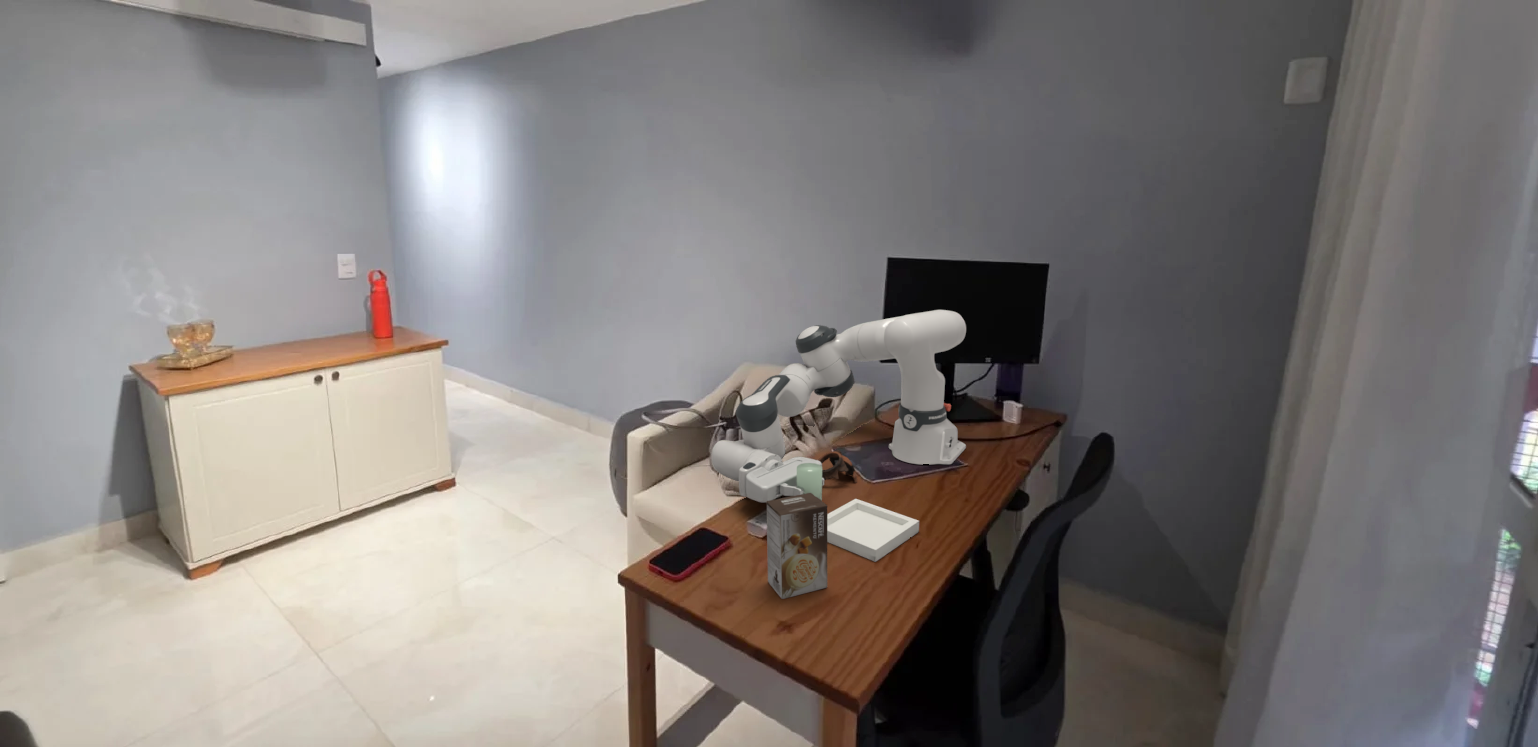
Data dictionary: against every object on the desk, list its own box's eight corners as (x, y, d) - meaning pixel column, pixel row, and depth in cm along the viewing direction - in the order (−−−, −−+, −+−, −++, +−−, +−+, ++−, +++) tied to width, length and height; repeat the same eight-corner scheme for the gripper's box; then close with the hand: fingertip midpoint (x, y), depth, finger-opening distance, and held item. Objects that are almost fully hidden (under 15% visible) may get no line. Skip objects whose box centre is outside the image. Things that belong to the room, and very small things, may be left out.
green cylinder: (806, 506, 150) (807, 460, 147) (826, 513, 146) (827, 467, 144) (791, 515, 146) (791, 468, 143) (811, 522, 142) (812, 474, 139)
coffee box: (811, 570, 124) (812, 491, 120) (828, 588, 118) (829, 505, 114) (766, 581, 120) (765, 500, 116) (781, 600, 114) (780, 515, 110)
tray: (855, 508, 148) (855, 498, 148) (918, 531, 138) (919, 520, 137) (810, 534, 137) (810, 523, 136) (875, 561, 127) (875, 550, 126)
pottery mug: (861, 490, 160) (846, 465, 156) (825, 503, 162) (810, 479, 159) (857, 459, 170) (844, 436, 167) (824, 472, 172) (810, 449, 169)
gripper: (794, 470, 161) (840, 486, 152) (734, 497, 146) (781, 517, 137) (794, 446, 159) (841, 460, 150) (734, 471, 145) (781, 488, 136)
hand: (812, 487), depth 144 cm, fingers closed on green cylinder, 5 cm apart
